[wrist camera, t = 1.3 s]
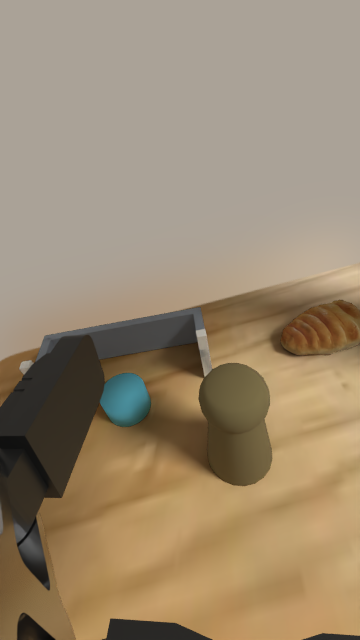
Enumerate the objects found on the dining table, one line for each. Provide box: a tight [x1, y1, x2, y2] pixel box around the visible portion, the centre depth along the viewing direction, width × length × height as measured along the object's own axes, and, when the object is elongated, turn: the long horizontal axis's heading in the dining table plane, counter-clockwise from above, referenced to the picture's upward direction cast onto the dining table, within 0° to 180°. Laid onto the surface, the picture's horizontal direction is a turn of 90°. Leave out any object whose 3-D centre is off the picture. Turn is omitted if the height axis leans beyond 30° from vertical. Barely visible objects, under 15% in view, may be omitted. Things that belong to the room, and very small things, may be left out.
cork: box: [199, 363, 272, 486], centre depth 25 cm, size 6×6×11 cm
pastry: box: [281, 300, 360, 356], centre depth 36 cm, size 9×7×4 cm
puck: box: [100, 373, 151, 427], centre depth 34 cm, size 5×5×3 cm
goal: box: [19, 307, 212, 376], centre depth 37 cm, size 20×7×7 cm, turn 94°
